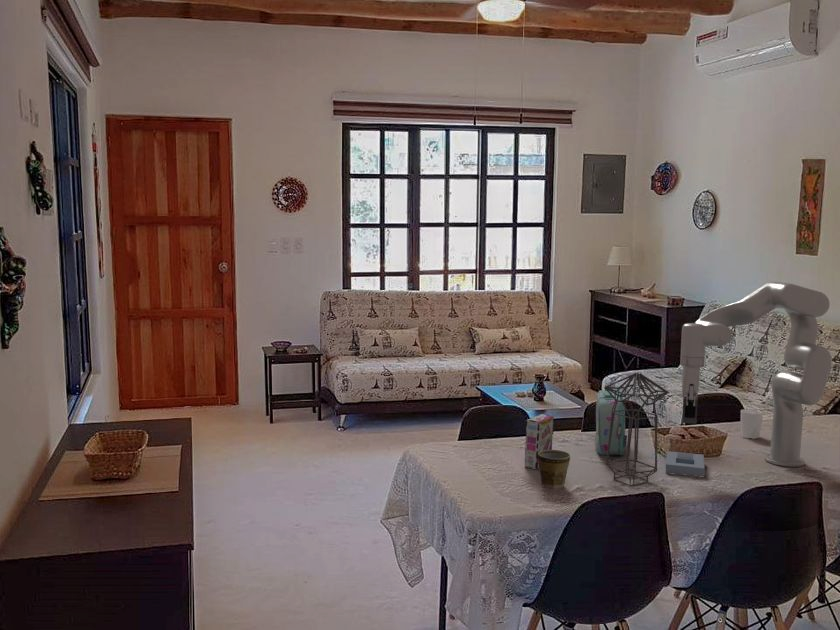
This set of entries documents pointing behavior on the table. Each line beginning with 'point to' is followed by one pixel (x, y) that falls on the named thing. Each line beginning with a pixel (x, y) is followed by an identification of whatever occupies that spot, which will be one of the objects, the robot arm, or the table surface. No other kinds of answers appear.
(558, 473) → the ceramic cup
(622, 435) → the lunch box
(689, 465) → the outlet plate
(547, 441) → the candy bar box
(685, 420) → the block
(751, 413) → the white cup
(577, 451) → the table surface
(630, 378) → the geometric lantern
